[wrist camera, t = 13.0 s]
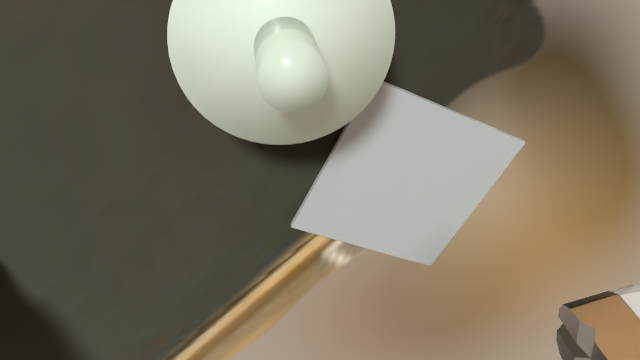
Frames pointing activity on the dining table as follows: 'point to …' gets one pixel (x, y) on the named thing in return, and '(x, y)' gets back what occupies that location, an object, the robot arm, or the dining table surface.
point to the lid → (280, 63)
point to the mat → (405, 176)
